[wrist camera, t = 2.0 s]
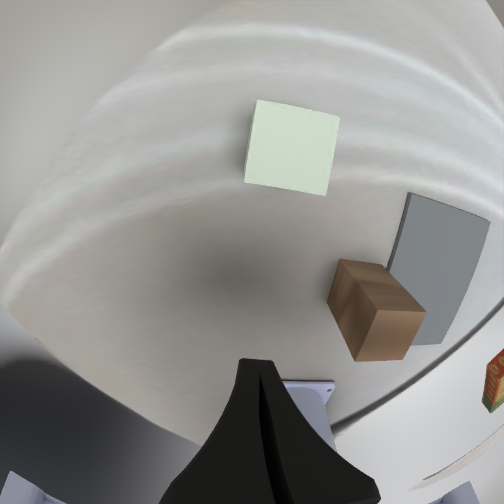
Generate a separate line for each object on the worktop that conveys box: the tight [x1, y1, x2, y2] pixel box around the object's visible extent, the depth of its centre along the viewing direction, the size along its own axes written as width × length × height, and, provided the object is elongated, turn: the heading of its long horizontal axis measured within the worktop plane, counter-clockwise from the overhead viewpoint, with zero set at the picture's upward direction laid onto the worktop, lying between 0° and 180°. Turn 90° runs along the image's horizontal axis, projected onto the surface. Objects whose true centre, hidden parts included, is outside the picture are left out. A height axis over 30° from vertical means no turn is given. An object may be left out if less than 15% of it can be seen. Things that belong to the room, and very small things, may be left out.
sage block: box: [243, 100, 340, 196], centre depth 14 cm, size 4×4×6 cm
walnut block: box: [327, 259, 427, 362], centre depth 18 cm, size 4×4×7 cm
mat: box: [387, 193, 490, 346], centre depth 21 cm, size 14×11×1 cm
